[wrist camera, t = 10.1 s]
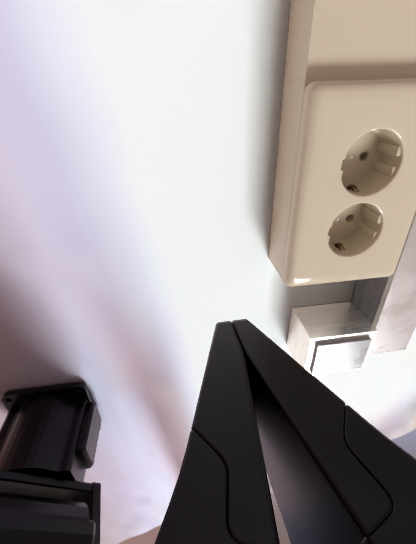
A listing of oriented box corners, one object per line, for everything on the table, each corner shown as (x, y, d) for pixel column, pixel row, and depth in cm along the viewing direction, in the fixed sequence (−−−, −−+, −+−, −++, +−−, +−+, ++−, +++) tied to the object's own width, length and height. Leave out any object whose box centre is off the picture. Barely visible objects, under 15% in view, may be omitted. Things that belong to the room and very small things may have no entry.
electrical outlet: (566, -199, 9) (396, 278, 19) (457, -122, 13) (359, 249, 22) (352, -213, 9) (286, 290, 18) (298, -128, 12) (266, 258, 22)
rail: (286, 344, 26) (304, 380, 23) (390, -345, 10) (504, -558, 7) (373, 333, 27) (402, 366, 24) (604, -320, 11) (798, -499, 7)
